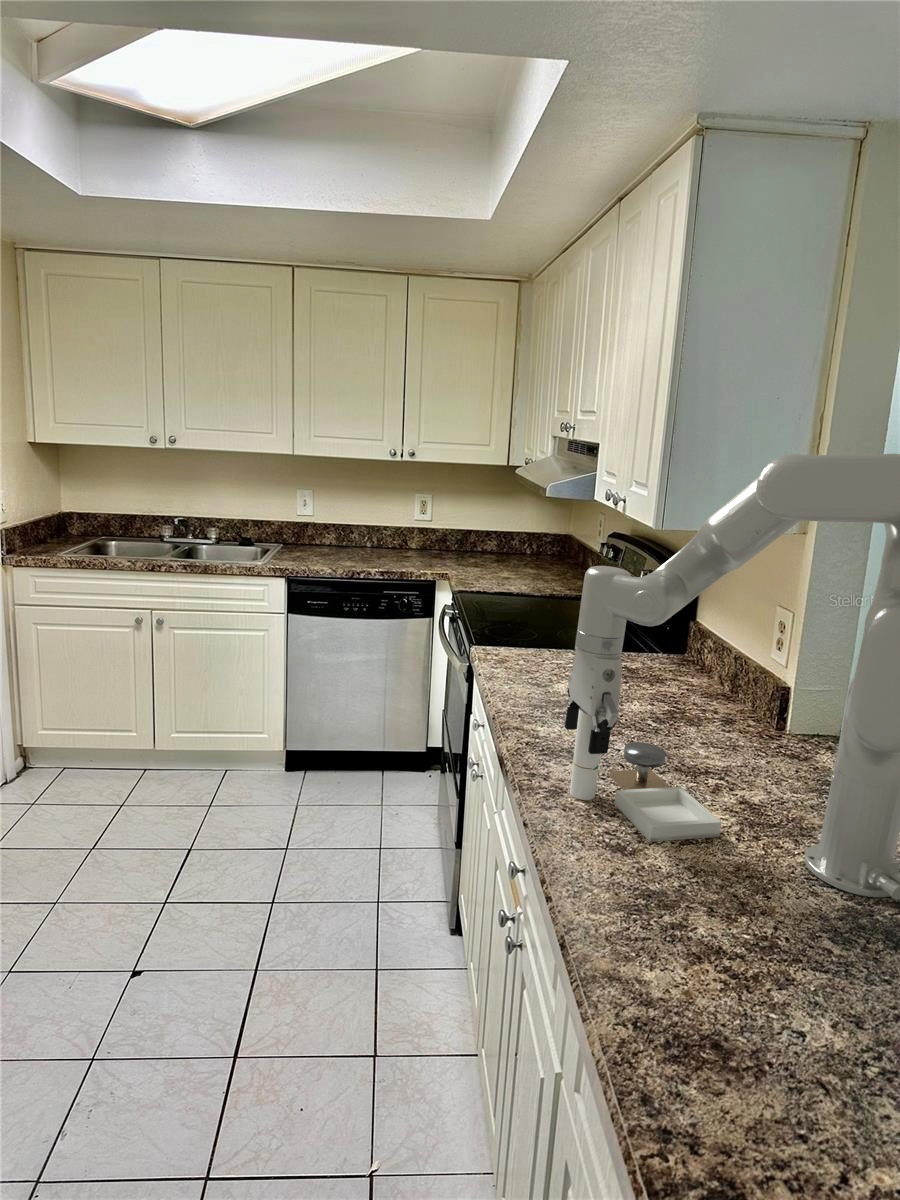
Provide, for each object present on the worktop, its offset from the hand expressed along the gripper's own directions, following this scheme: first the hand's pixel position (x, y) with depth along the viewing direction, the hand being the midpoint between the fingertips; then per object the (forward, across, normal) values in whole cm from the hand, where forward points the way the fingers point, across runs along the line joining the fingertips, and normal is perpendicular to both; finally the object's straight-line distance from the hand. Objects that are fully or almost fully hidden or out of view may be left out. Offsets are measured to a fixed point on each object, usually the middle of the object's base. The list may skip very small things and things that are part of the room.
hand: (585, 740), depth 129 cm
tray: (+9, -10, -11) cm, 18 cm away
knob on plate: (+9, +2, -13) cm, 16 cm away
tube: (+10, 0, -1) cm, 10 cm away
